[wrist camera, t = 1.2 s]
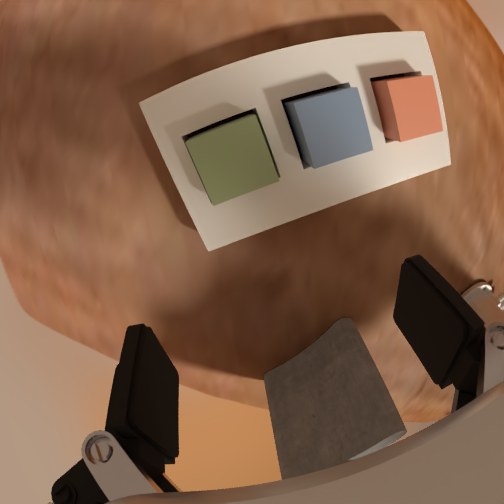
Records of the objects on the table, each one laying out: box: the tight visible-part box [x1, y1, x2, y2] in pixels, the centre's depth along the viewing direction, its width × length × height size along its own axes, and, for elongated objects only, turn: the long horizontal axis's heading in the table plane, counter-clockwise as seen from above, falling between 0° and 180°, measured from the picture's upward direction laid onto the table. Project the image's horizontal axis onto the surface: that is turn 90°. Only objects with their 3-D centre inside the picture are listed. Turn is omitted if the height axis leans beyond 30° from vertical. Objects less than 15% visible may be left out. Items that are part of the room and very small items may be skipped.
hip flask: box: [264, 317, 407, 480], centre depth 30 cm, size 16×4×20 cm, turn 136°
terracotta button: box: [371, 75, 443, 142], centre depth 20 cm, size 5×5×3 cm
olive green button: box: [185, 114, 279, 206], centre depth 21 cm, size 5×5×3 cm
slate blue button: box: [284, 87, 373, 169], centre depth 20 cm, size 5×5×3 cm
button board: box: [139, 31, 451, 252], centre depth 22 cm, size 26×14×3 cm, turn 110°
